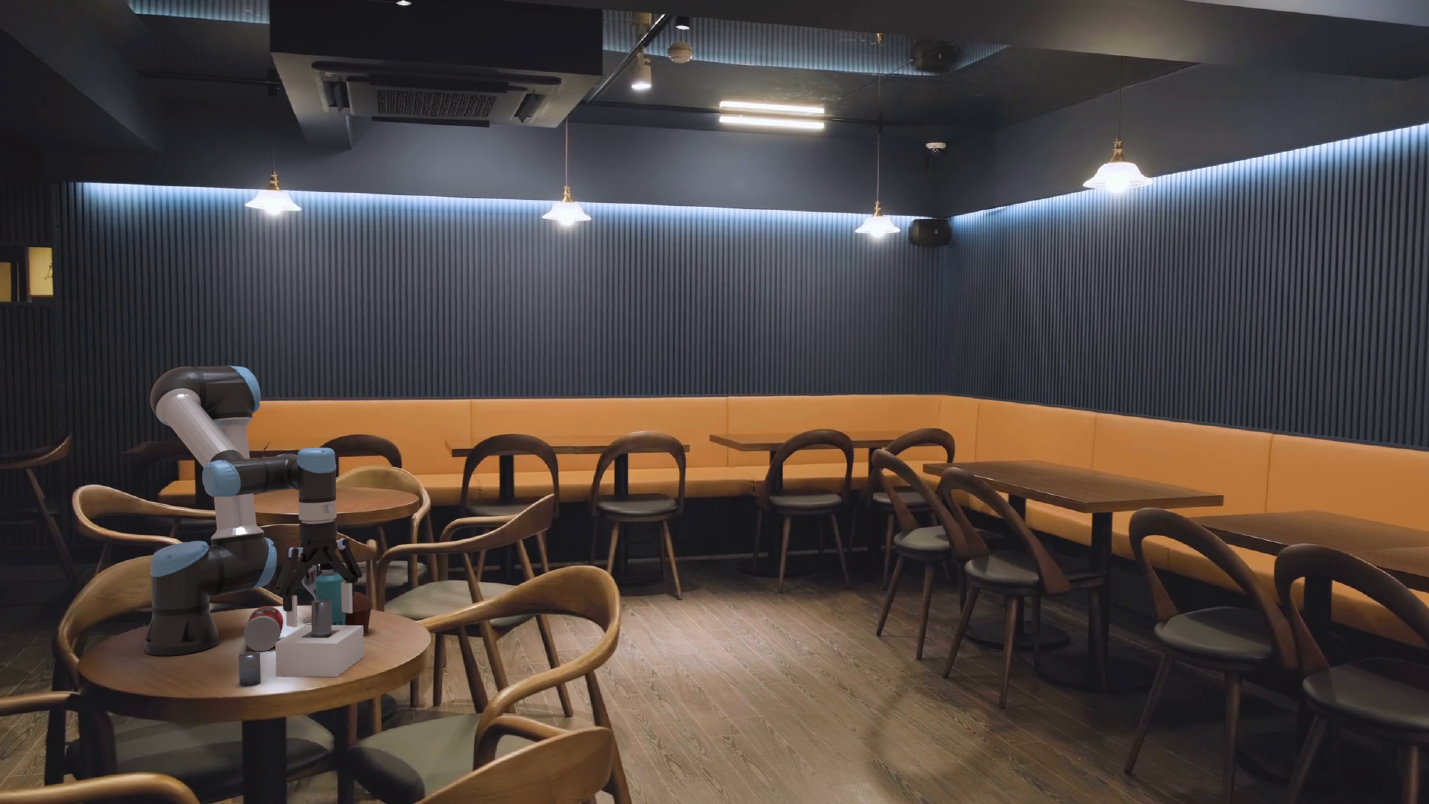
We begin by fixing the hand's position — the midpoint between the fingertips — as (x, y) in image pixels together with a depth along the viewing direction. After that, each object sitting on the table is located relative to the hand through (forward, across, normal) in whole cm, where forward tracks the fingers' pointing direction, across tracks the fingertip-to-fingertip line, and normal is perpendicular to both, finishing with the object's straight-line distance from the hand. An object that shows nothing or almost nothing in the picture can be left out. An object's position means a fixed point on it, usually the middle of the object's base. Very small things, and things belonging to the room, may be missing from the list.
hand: (320, 619), depth 220 cm
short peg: (+10, -15, +2) cm, 18 cm away
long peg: (+10, 0, 0) cm, 10 cm away
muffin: (+10, +19, +16) cm, 28 cm away
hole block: (+10, 0, 0) cm, 10 cm away
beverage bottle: (+10, +11, +12) cm, 19 cm away
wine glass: (+10, +23, +34) cm, 42 cm away
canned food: (+6, +6, +30) cm, 31 cm away
